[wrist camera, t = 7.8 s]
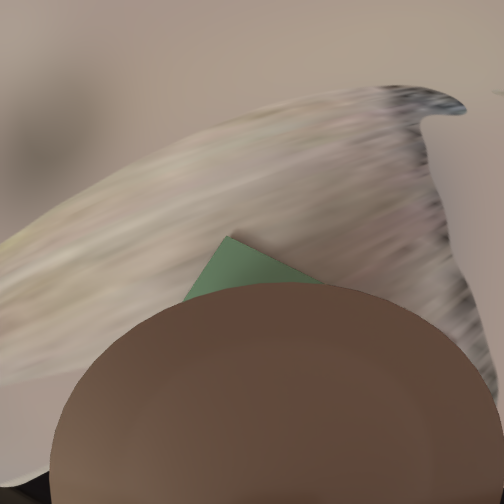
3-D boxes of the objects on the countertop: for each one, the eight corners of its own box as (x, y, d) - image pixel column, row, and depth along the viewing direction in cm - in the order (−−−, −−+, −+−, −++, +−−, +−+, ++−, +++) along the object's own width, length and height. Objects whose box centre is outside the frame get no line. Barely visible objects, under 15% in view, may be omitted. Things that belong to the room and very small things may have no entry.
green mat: (452, 351, 16) (457, 349, 16) (324, 573, 11) (325, 577, 10) (227, 239, 21) (226, 235, 20) (96, 448, 15) (91, 449, 15)
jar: (352, 442, 13) (546, 521, 1) (251, 492, 12) (184, 683, 1) (300, 351, 15) (374, 192, 4) (201, 400, 15) (-7, 378, 3)
